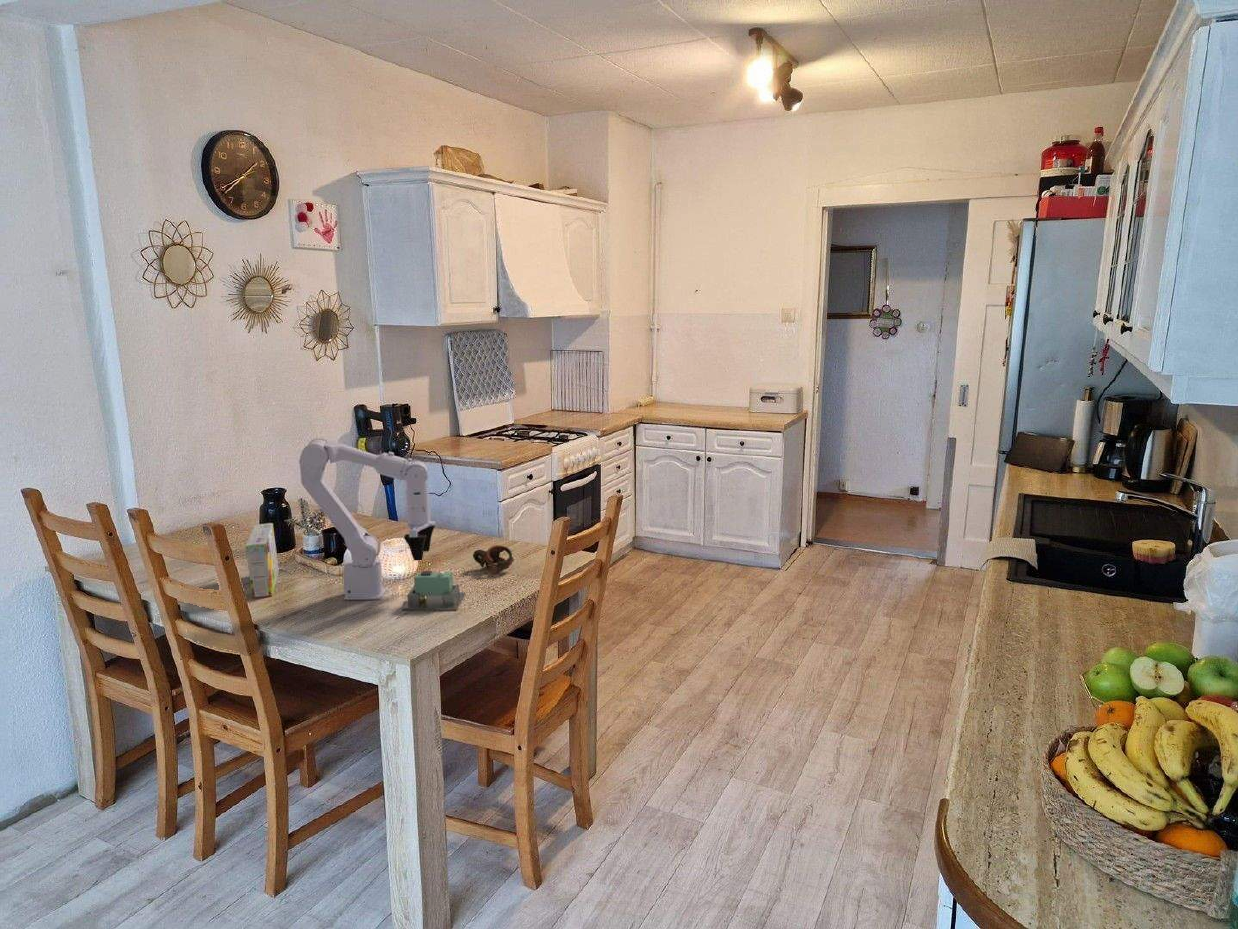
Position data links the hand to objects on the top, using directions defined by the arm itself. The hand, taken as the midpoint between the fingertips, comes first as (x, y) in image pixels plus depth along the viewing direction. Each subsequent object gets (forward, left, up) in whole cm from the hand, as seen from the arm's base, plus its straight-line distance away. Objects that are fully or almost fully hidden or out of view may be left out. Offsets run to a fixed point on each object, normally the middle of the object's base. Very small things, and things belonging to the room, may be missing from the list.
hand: (421, 555), depth 216 cm
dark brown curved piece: (+16, +16, -10) cm, 25 cm away
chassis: (+5, -9, -10) cm, 14 cm away
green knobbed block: (+5, -9, -7) cm, 13 cm away
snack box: (-46, +6, -10) cm, 47 cm away
